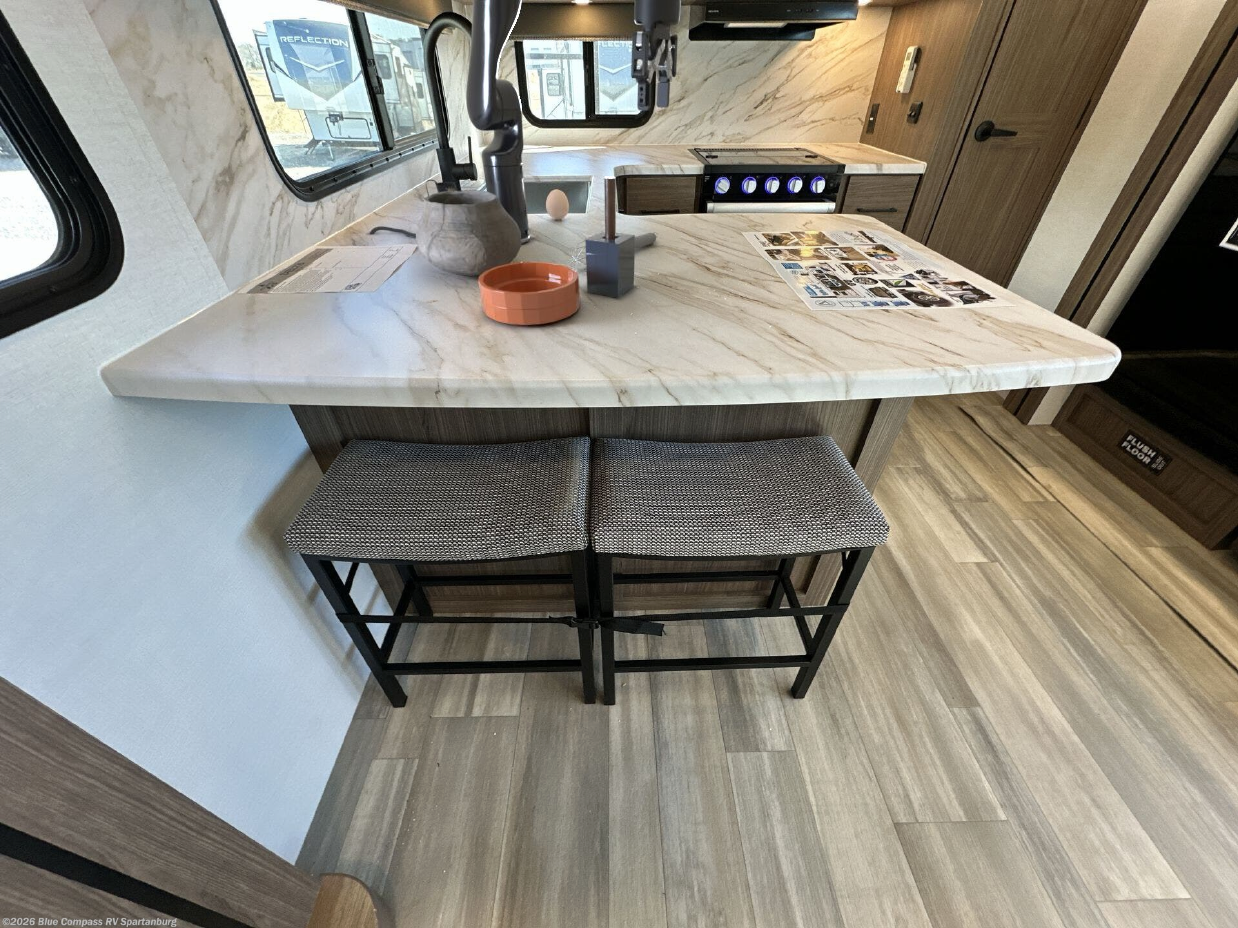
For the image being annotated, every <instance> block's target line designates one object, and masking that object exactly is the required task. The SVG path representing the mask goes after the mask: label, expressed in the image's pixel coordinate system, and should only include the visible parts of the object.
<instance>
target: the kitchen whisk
mask: <svg viewBox="0 0 1238 928" xmlns="http://www.w3.org/2000/svg"><path fill="white" fill-rule="evenodd" d="M657 238H658V235H657V232H656V231H655V232H646V233H644V234H639V235H635V250H637V249H640V248H643V247H647V246H649V245H652V244H654V243H655V242H656V241H657ZM584 242H585V240H582V241H580V242H579V243H578V244H577V245H576V247H575V248H574V249H573V250H572V251H571V252H570V254H571V257H572V258H573V260H572V261H570V263H573V262H575V265H574V266H575V268H576V269H575V270H577V271H580V270H581V271H583V272H586V273H587V270H586V268H584V269H583V268H582V267H581V266H580V264H581V265H585V266H586V263H583V262H581V260H584V259H586V256H583V257H580V255H581V253H582V252H583V251H584V249H586V245H585V246H580V244H582V243H584ZM579 246H580V247H579ZM578 249H581V250H580V252H579V253H578V256H577V250H578ZM573 252H574V255H575V257H574V256H573ZM579 257H580V258H579ZM579 263H580V264H579ZM577 265H578V267H579V268H580V269H579V268H577Z"/></svg>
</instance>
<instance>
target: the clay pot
mask: <svg viewBox="0 0 1238 928" xmlns="http://www.w3.org/2000/svg"><path fill="white" fill-rule="evenodd" d="M417 223H418V224H417V227H416V231H415V234H416V237H415V243H416V245H417V249H418V251H419V252H420V254H421V255H422V256H423V258H424V259H426V260H427V261H428V262H429V263H430V264H432V265H433V266H434V267H436V268H438V269H440V270H442V271H444V272H446V273H450V274H453V275H458V276H468V277H473V276H474V277H476V276H478V277H479V276H480V275H481V274H483V273H484V272H485V271H487V270H489V269H492V268H494V267H497V266H501V265H505V264H510V263H513V261H514V260H515V259H516V258H517V256H518V254H519V252H520V249H521V247H522V244H521V233H520V229H519V227H518V225H517V223H516V222H515V221H514V219H513V218H512V217H511V216H510V215H509V214H508V213H507V212H506V211H505V209H504V208H503V207H502V205H501V203H500V201H499V199H498V197H497V196H496V195H494V194H492V193H489V192H487V190H486V191H485V190H479V189H464V190H457V191H444V192H439V193H438V192H435V193H432V194H429V196H428V195H427V196H426V197H425V199H424V203H423V210H422V213H421V217H420V219H419V220H418V222H417Z"/></svg>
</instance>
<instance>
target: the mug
mask: <svg viewBox="0 0 1238 928" xmlns="http://www.w3.org/2000/svg"><path fill="white" fill-rule="evenodd" d="M428 182H434V184H435V188H436V190H437V193H439V192H444V191H458V188H457V186H456V183H455V182H453V181H441V182H437V181H436V180H435V179H427V180H426V181H425V189H426V192H427V197H428V196H430V193H429V190H428V189H429V188H428V186H427V183H428Z"/></svg>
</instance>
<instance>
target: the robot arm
mask: <svg viewBox="0 0 1238 928" xmlns="http://www.w3.org/2000/svg"><path fill="white" fill-rule="evenodd" d="M681 3H682V0H634V7H633V9H634V10H633V11H634V15H633V16H634V17H633V21H634V23H635V24H636V25H639V26H642V29H641V30H638V31H637V30H635V31H632V37H631V38H632V39H631V40H632V41H631V65H630V66H631V67H630V68H631V69H630V77H631V78H632V79H635V82H636V84H637V100H636V101H637V103H636V105H637V106H636V107H637V110H638V111H642V112H643V111H650V110H651V107H652V83H651V82H652V79H653V75H654V72H655V73H656V78H657V85H656V87H657V88H656V107H657V108H662V109H663V108H665V109H667V108H668V107H669V106H670V95H671V82H672V81H673V78H676V76H677V67H678V66H677V65H678V41H679V40H678V39H679V37H678V34H677V33H676V34H671V29H670V28H671V26H676V25H678V24H679V22H680V20H681ZM521 6H522V0H472V19H471V38H470V39H471V41H470V51H469V60H468V70H467V78H466V79H467V80H466V91H465V102H466V103H465V104H466V105H465V106H466V110H467V115H468V118H469V120H470V122H471V124H472V125H473V127H474V128H475V129H477V130H479V131H482V132H489V131H490V132H492V131H493V138H492V139H491V142H490V143H489V144H488V145H487V146H485V148H483V150H482V151H481V160H482V168H483V173H484V181H485V188H486V192H489V193H492V194H494V195H496V196H497V197H498V199H499V201H500V203H501V205H502V207H503V208H504V209H505V211H506V212H507V213H508V214H509V215H510V216H511V217H512V218H513V219H514V221H515V222H516V223H517V225H518V227H519V229H520V233H521V245H522V244H526V243H528V242H529V241H530V240H531V234H530V233H531V232H532V231H531V227H530V226H529V218H528V217H529V216H528V208H527V197H526V189H525V187H526V186H525V178H524V167H523V152H524V127H523V111H522V103H521V99H520V96H519V93H518V90H517V88H516V86H514V84H513V83H512V82H511V81H509V80H508V79H502V78H498V69H499V64H500V63H499V62H500V58H501V55H502V51H503V49H504V47H505V45H506V42H507V40H508V39H509V36H510V34H511V32H512V30H513V28H514V26H515V24H516V22H517V19H518V18H519V14H520V10H521ZM378 231H387V232H388V231H389V232H392V233H398V234H404V235H406V236H408V237H412V238H416V233H413V232H410V231H407V230H405V229H400V228H394V227H390V226H384V225H383V226H375V227H374V228H372V229H371V230H370V231H369V235H374V234H375V233H376V232H378Z"/></svg>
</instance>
